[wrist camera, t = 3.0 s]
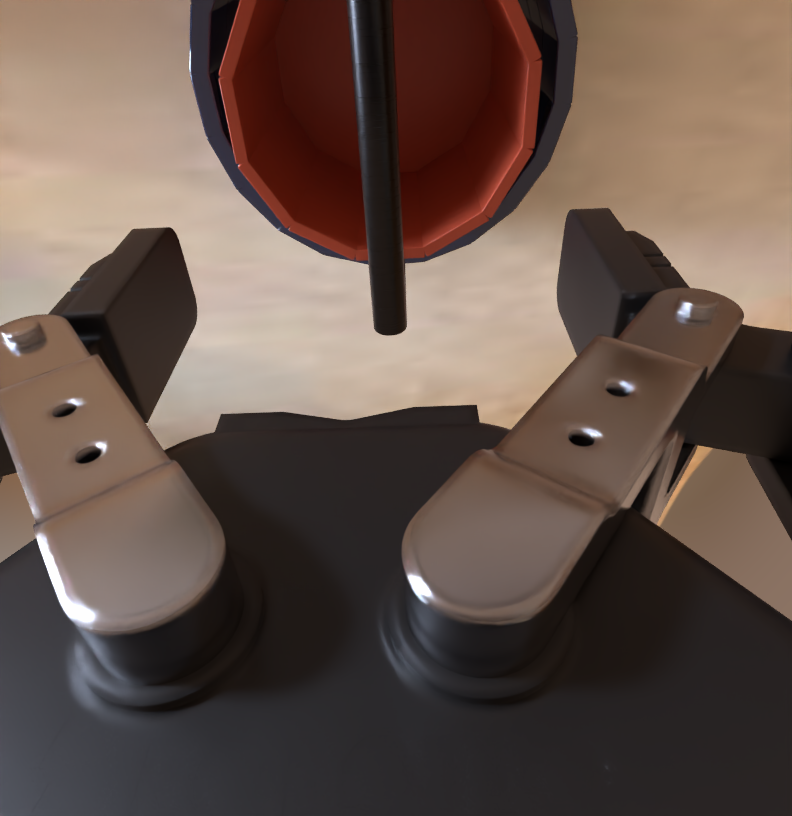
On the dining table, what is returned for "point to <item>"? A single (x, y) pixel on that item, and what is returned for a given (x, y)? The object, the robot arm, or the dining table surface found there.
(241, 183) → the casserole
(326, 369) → the dining table surface
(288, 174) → the red bucket
